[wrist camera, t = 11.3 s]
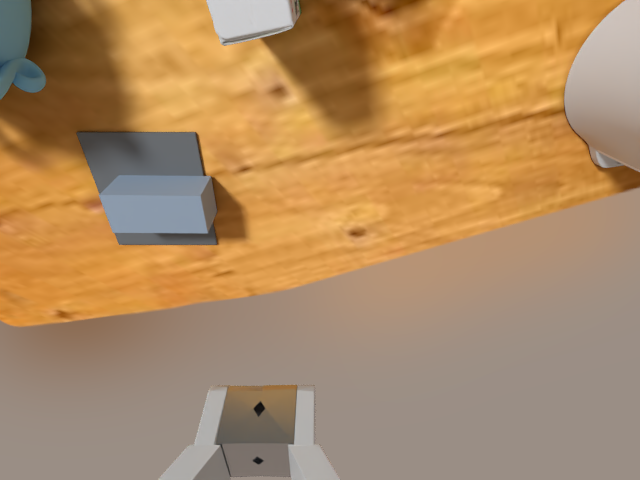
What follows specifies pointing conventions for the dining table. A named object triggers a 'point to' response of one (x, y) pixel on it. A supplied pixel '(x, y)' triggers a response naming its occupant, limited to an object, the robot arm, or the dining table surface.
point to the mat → (145, 170)
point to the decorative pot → (17, 48)
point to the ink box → (252, 18)
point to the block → (160, 204)
